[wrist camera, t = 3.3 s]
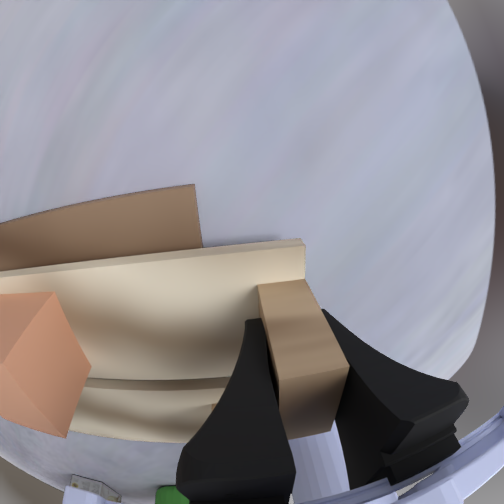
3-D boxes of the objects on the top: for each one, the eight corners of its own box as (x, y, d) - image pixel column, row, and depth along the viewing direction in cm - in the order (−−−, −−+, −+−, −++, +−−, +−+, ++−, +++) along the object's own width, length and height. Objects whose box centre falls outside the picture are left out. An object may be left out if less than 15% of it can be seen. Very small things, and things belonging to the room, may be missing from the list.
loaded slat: (296, 356, 14) (325, 446, 9) (14, 359, 13) (-17, 415, 8) (300, 238, 12) (358, 326, 6) (-29, 275, 10) (-79, 326, 5)
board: (237, 425, 19) (237, 431, 18) (25, 407, 17) (24, 411, 17) (194, 184, 11) (193, 186, 11) (-64, 245, 10) (-68, 248, 9)
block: (91, 366, 13) (65, 438, 8) (32, 360, 12) (3, 418, 8) (54, 291, 10) (2, 363, 6) (-4, 294, 10) (-50, 349, 6)
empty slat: (250, 430, 18) (259, 497, 12) (39, 416, 16) (23, 462, 11) (242, 375, 15) (252, 466, 9) (-2, 364, 13) (-29, 413, 8)
